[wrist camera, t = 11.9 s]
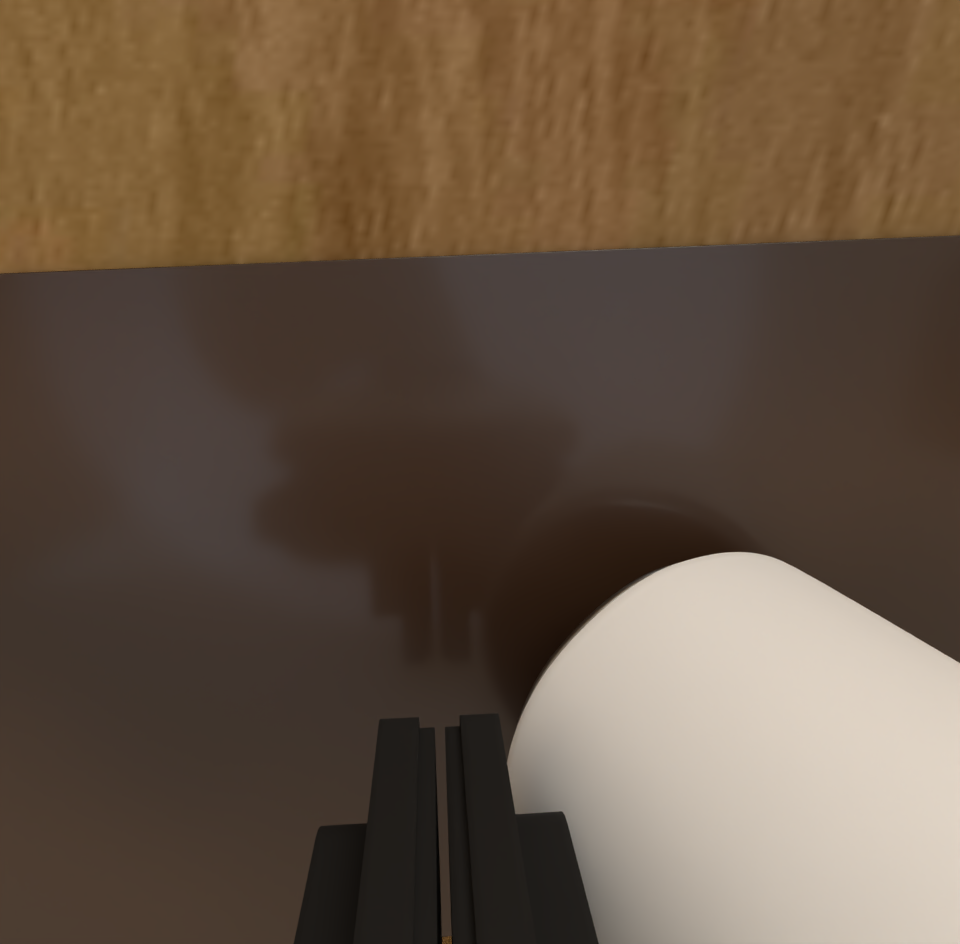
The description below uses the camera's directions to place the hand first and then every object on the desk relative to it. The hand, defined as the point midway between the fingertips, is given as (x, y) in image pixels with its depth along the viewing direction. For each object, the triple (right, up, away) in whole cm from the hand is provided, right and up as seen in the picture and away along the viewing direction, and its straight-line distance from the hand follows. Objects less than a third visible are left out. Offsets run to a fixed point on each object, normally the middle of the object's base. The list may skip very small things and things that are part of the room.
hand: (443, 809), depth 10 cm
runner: (-6, +1, +3) cm, 6 cm away
